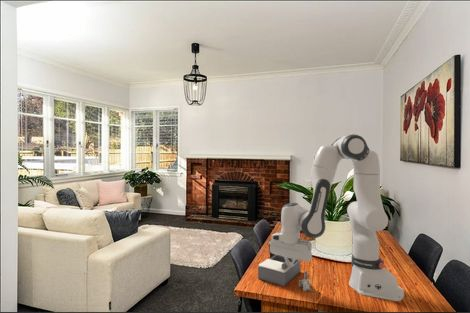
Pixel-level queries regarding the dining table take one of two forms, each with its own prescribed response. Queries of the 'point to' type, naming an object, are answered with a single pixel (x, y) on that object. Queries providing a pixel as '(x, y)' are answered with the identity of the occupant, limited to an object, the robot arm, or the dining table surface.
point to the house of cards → (305, 283)
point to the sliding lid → (275, 265)
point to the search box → (278, 276)
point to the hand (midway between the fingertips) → (290, 266)
